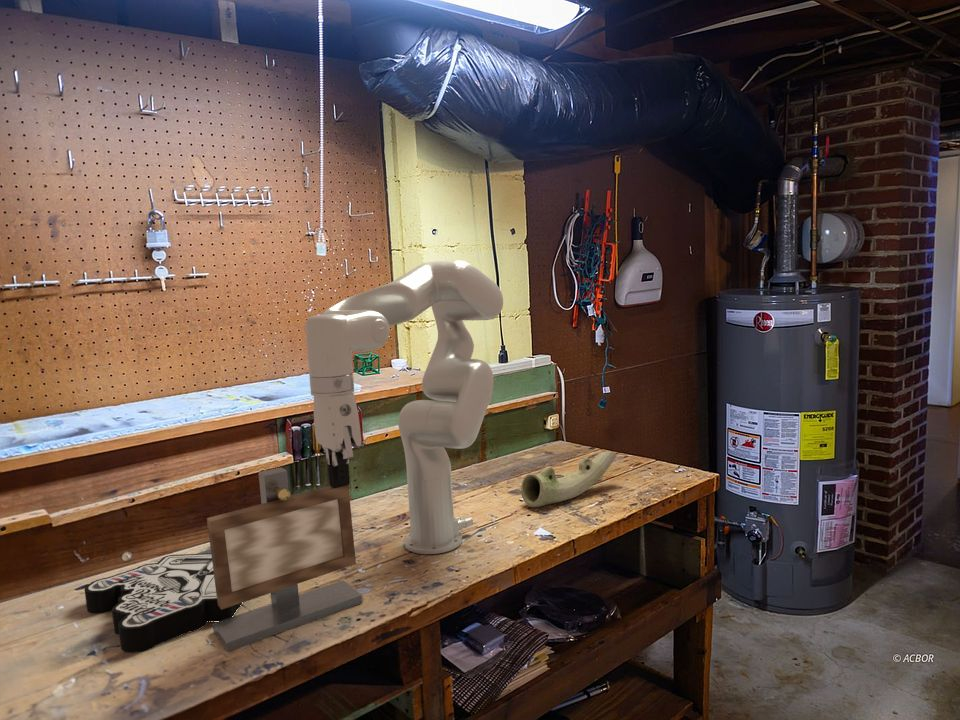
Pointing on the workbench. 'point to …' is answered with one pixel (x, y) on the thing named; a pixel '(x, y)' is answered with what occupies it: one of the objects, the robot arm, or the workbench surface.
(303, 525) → the picture frame
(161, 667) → the workbench surface
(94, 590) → the decorative sign
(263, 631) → the tabletop sign stand
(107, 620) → the workbench surface
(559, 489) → the pipe
